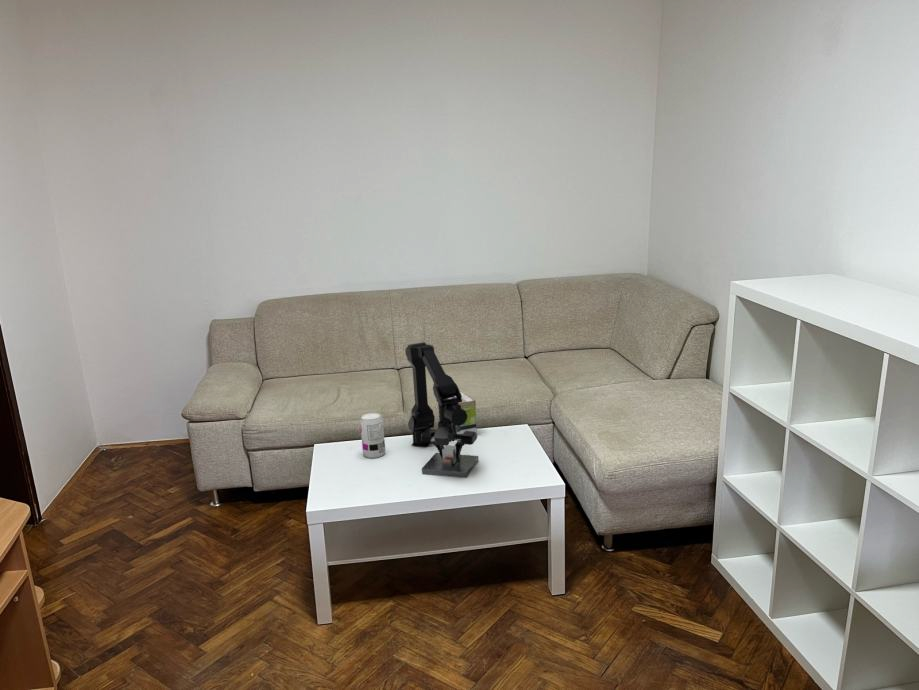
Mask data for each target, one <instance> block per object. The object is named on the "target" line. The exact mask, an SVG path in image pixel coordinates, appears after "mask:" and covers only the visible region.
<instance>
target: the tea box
mask: <svg viewBox="0 0 919 690" xmlns="http://www.w3.org/2000/svg"><path fill="white" fill-rule="evenodd" d="M459 391H460V393H461V396H462V398H461V399H462V402H460V403H458V404H459V405H461V408H462V409H463V410H465V412H466V413H467V420H466V422H465V423H464V424H463V425H461V426H456V428H457V429H458V432H457V434H463V433H464V432H465V431H475V432H476V434H477V435H478V428H477V427H478V426H477V424H478V423H477V408H476V407H477V404H476V399H475V398H473V397H471V396H470V395H469V394H467V393H466V392H464V391H463V390H459ZM452 398H456V396H455V397H451V398H448V399H452ZM455 440H456V441H457V439H455ZM455 440H454V441H455Z"/></svg>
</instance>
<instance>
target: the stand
mask: <svg viewBox="0 0 919 690" xmlns="http://www.w3.org/2000/svg"><path fill="white" fill-rule="evenodd" d="M479 461H480V460H479V455H470V454H468V455H467V454H461V453H460V456H459V459H458V460H457V461H456V462H455V463H454V464H452V459H442V458H441V455H440V453H439V452H435V453H434V454H433V455H432V456H431V457H430V458H429V460H428V461H427V462H426V463H425V464H424V466H423V467H422V468H421V473H422V475H429V476H438V477H439V476H441V477H442V476H443V477H453V478H465V479H466V478H468V476H469V475H470V473H472V471H473V470H474V468H476V465H477V464H478V463H479Z"/></svg>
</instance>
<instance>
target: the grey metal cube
mask: <svg viewBox="0 0 919 690" xmlns="http://www.w3.org/2000/svg"><path fill="white" fill-rule="evenodd" d="M442 455H443V459H452V464H454V463H455V462H456V461H457V460H456V446H455V445H449V444H448V445H446V446H445V445H444V448H443V449H442Z"/></svg>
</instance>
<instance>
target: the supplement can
mask: <svg viewBox="0 0 919 690" xmlns="http://www.w3.org/2000/svg"><path fill="white" fill-rule="evenodd" d="M359 425H360V436H361V437H360V438H361V444H362V445H361V446H362V454H363V456H364V457H366V458H367V459H376V458H380V457H383V456H384V455H385V453H386V443H385V442H386V441H385V431H384V419H383V417H382V416H381V413H378V412H370V413H365V414H362V415H361V418H360V420H359Z"/></svg>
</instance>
